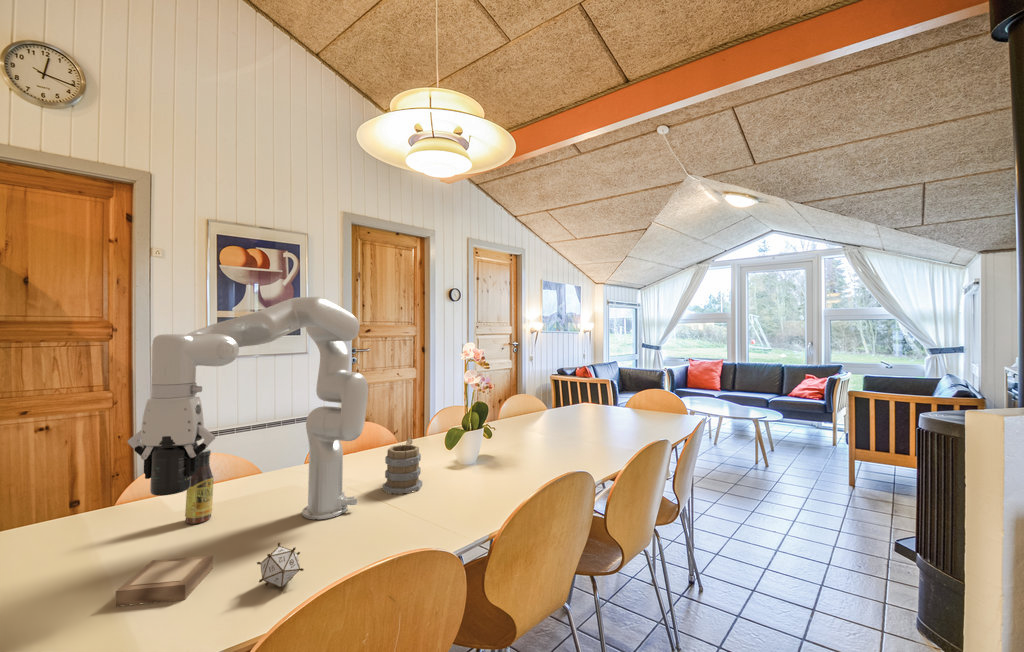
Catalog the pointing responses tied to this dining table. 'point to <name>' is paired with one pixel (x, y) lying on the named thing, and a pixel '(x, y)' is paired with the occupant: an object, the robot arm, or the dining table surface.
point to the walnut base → (165, 580)
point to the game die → (280, 566)
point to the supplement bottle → (169, 469)
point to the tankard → (403, 468)
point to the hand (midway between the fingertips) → (171, 475)
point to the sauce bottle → (200, 492)
